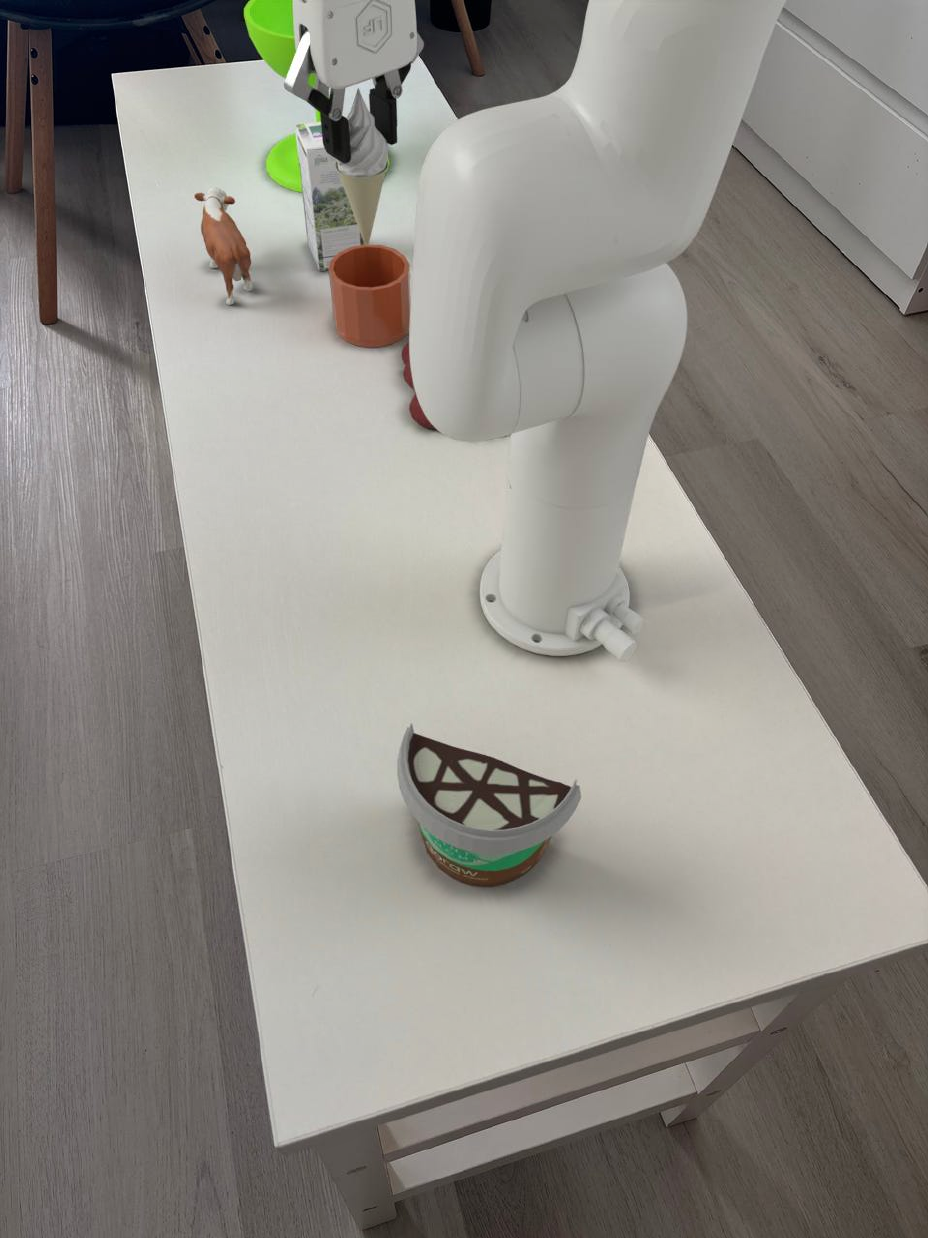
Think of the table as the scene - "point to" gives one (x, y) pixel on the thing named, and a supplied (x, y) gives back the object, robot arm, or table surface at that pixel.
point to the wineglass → (276, 46)
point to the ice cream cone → (364, 166)
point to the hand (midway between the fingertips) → (361, 145)
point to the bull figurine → (224, 240)
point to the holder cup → (370, 295)
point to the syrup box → (324, 199)
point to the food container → (480, 810)
